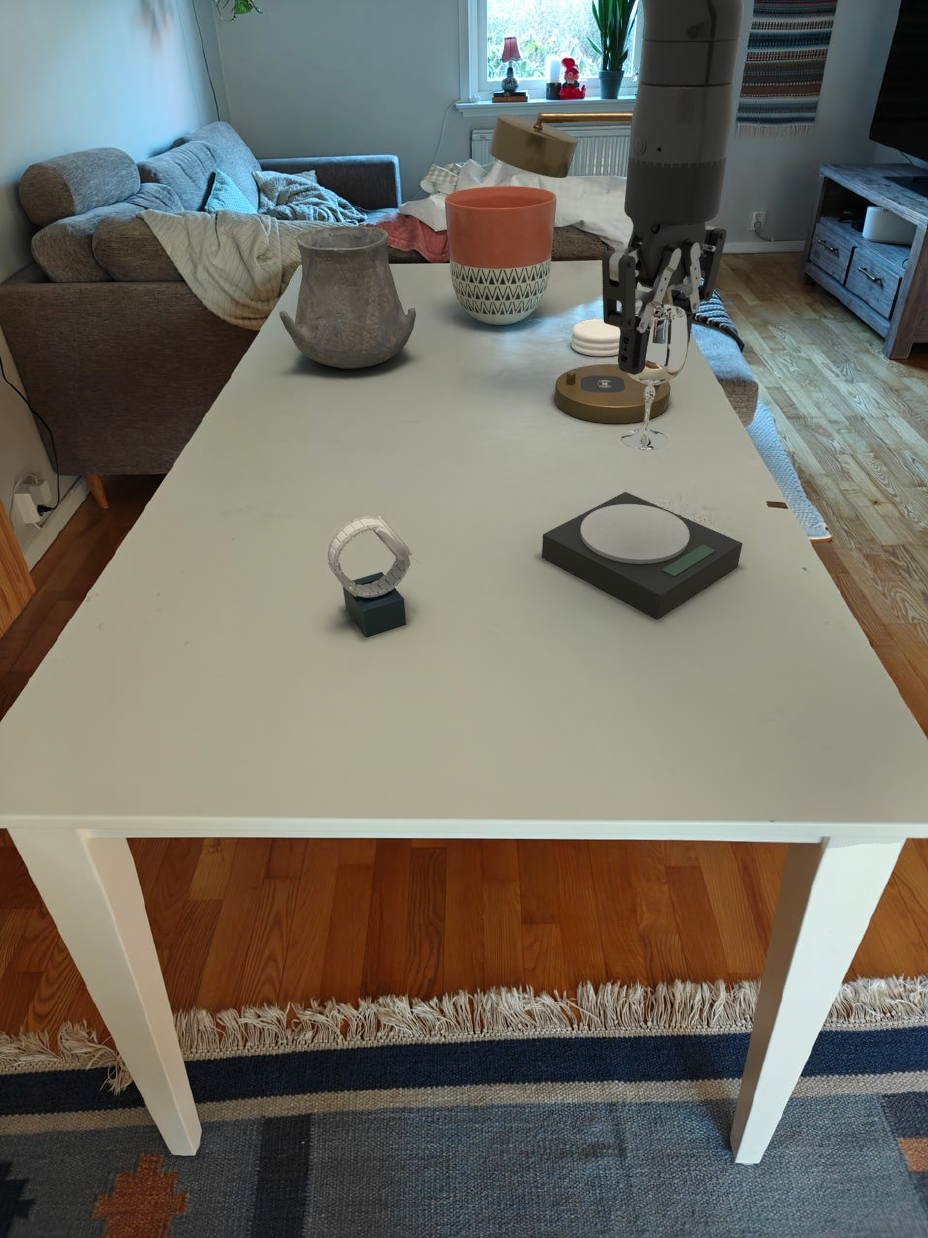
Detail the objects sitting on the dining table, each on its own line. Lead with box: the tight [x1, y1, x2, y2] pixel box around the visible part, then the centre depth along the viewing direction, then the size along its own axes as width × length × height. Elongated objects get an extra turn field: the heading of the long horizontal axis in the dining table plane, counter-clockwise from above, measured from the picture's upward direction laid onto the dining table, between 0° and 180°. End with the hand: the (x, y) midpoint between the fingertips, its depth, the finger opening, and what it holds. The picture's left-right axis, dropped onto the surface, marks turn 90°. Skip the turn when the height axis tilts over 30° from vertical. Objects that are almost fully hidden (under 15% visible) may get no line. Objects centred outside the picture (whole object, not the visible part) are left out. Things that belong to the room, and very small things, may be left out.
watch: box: [327, 514, 413, 638], centre depth 83 cm, size 6×8×11 cm
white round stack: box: [570, 318, 620, 357], centre depth 147 cm, size 10×10×4 cm
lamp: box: [488, 111, 671, 425], centre depth 118 cm, size 17×27×38 cm, turn 83°
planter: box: [444, 185, 557, 326], centre depth 155 cm, size 20×20×21 cm
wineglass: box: [620, 303, 689, 451], centre depth 77 cm, size 6×6×12 cm
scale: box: [541, 491, 743, 620], centre depth 92 cm, size 16×14×4 cm
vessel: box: [279, 225, 417, 369], centre depth 141 cm, size 22×22×20 cm
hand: (653, 361), depth 76 cm, fingers closed on wineglass, 5 cm apart
